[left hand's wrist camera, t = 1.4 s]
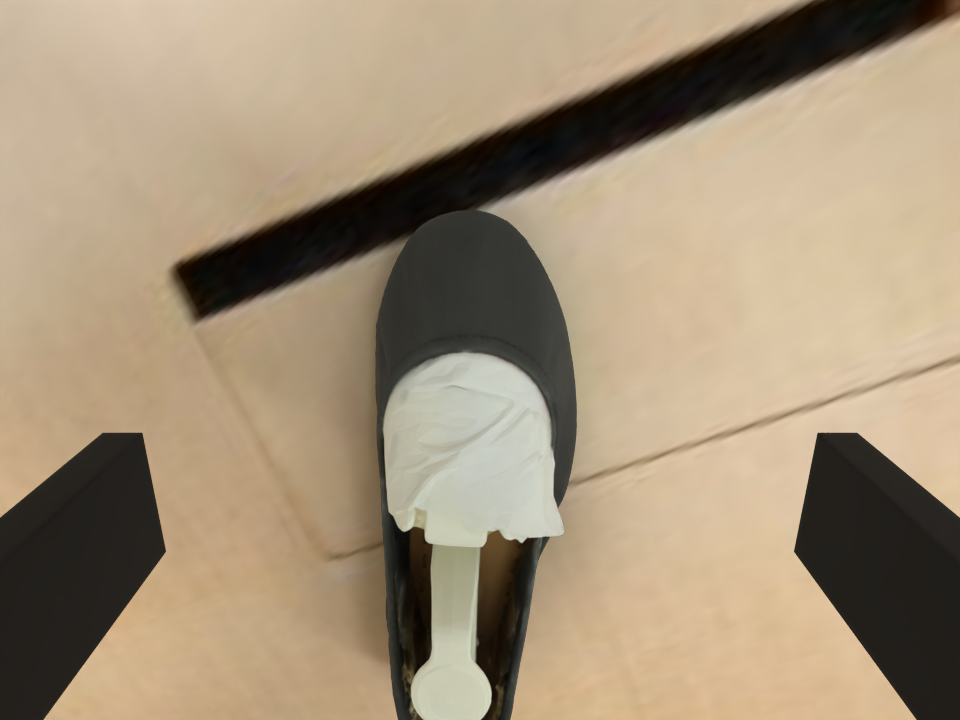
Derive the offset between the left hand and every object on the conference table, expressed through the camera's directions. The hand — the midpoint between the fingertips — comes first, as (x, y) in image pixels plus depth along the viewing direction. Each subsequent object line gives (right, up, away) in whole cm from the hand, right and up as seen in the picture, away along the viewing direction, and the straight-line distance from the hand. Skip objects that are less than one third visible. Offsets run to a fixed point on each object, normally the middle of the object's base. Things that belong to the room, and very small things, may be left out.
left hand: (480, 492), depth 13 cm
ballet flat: (0, -3, +17) cm, 17 cm away
